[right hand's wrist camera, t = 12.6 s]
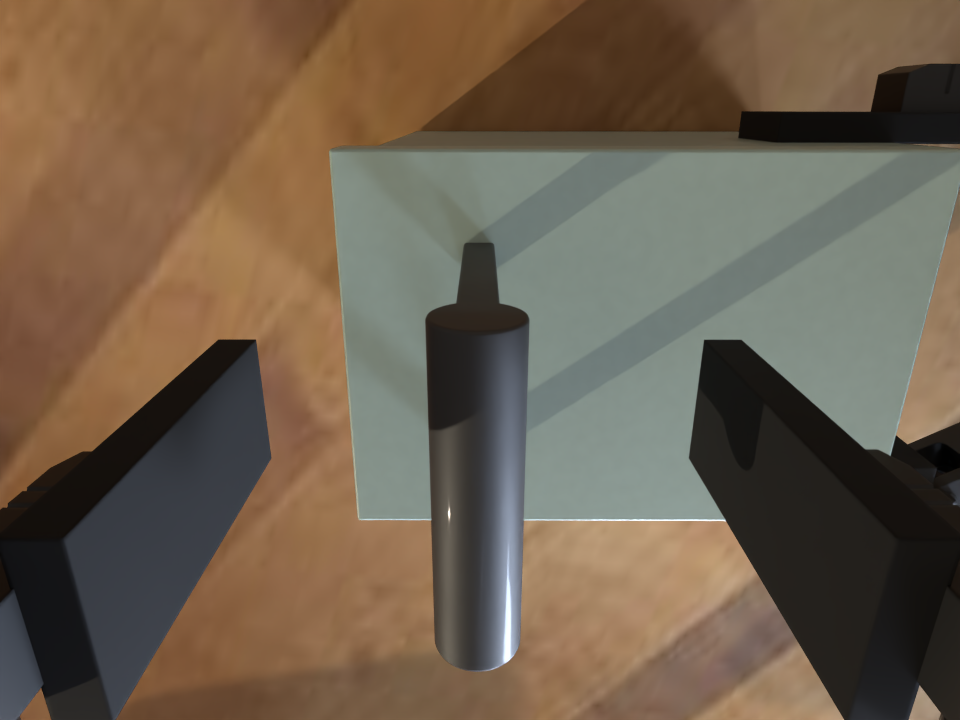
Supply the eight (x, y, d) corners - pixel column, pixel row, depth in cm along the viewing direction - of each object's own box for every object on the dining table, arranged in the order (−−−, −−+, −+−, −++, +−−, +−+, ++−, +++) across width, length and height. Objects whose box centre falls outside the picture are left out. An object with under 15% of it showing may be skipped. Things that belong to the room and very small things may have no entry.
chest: (423, 368, 28) (394, 494, 19) (415, 131, 24) (375, 145, 15) (729, 368, 28) (849, 496, 19) (765, 131, 24) (933, 146, 15)
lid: (364, 495, 19) (287, 755, 11) (339, 145, 15) (202, 181, 8) (850, 496, 19) (1098, 758, 11) (934, 146, 15) (1370, 184, 8)
